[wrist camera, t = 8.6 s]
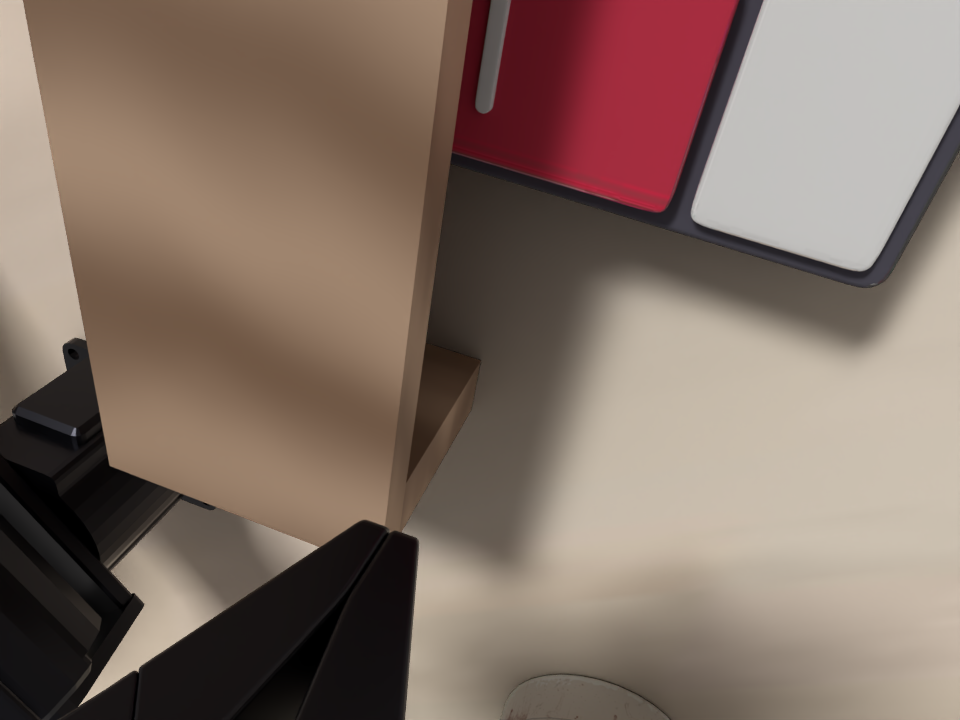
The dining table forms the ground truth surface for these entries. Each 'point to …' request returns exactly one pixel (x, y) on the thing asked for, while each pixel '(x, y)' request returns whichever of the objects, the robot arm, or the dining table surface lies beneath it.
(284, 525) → the overhang shelf
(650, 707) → the thermos bottle
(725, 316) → the dining table surface
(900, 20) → the calculator
